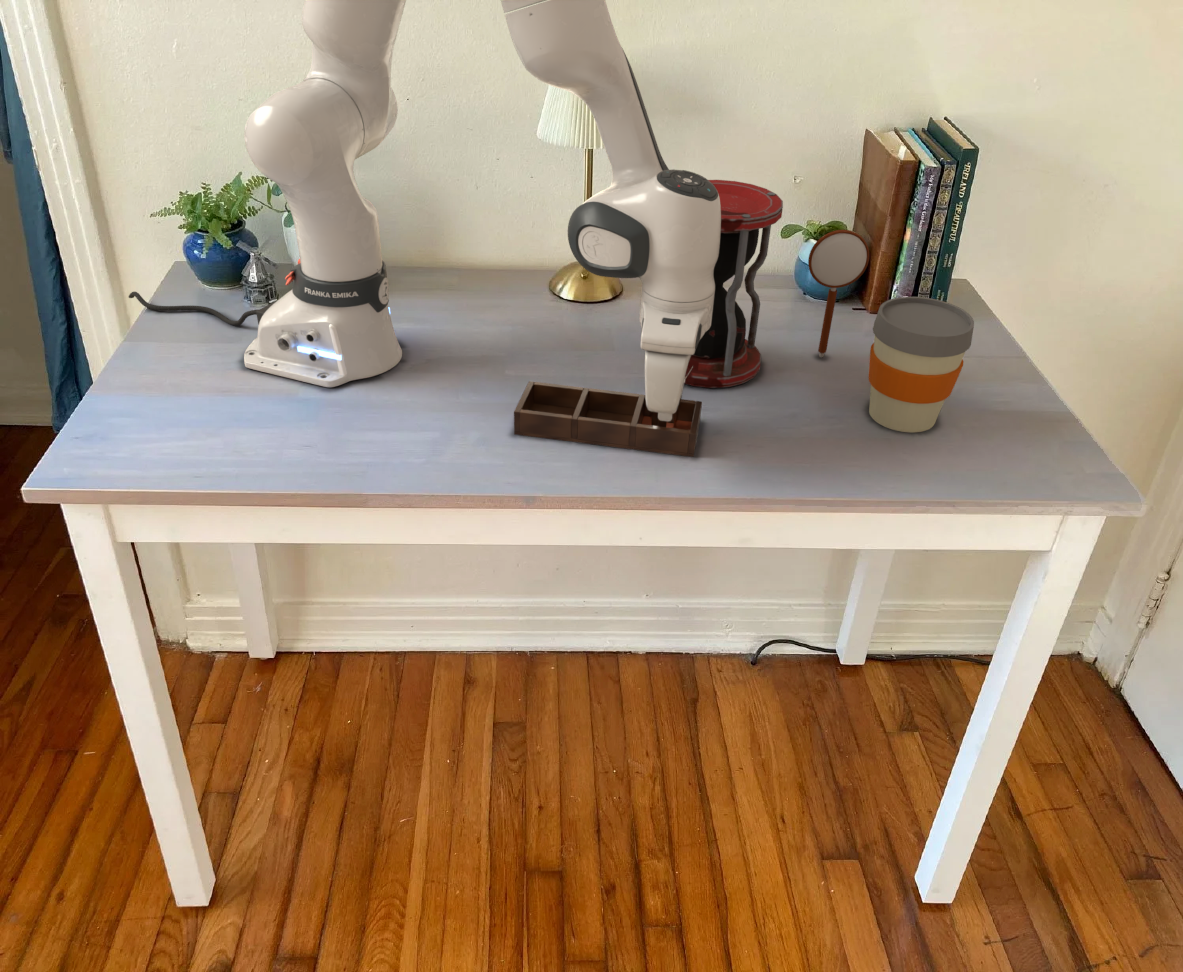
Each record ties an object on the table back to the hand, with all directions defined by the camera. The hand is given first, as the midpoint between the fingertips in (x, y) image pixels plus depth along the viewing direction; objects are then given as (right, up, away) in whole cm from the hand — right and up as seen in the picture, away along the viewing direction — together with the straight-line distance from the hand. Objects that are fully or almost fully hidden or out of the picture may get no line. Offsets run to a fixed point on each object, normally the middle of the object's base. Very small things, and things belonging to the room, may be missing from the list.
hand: (667, 407), depth 129 cm
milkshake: (0, -3, +2) cm, 4 cm away
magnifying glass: (+25, +9, +22) cm, 35 cm away
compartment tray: (-8, -3, +3) cm, 9 cm away
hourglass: (+7, +8, +20) cm, 23 cm away
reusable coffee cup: (+33, 0, +9) cm, 34 cm away
